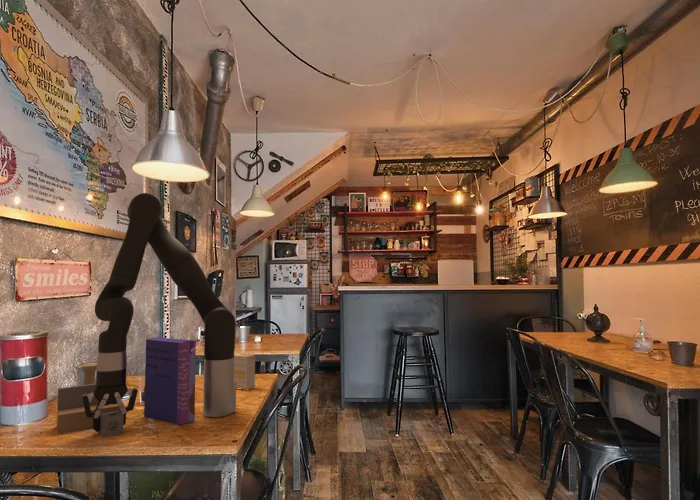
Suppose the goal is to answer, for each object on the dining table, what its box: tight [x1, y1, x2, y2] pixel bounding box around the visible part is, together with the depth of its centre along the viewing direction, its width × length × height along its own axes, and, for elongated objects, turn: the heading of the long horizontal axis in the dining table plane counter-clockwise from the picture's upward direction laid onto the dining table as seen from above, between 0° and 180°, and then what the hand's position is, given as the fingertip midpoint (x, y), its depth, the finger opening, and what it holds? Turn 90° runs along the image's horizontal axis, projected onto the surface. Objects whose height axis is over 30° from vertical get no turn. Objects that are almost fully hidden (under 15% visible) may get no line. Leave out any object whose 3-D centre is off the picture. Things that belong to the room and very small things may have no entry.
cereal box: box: [143, 337, 197, 426], centre depth 132 cm, size 17×5×24 cm, turn 59°
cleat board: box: [56, 384, 121, 435], centre depth 127 cm, size 16×7×11 cm, turn 126°
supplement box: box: [234, 353, 256, 391], centre depth 169 cm, size 8×5×13 cm, turn 58°
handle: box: [80, 362, 97, 385], centre depth 140 cm, size 5×6×15 cm
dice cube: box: [97, 411, 124, 439], centre depth 119 cm, size 5×5×5 cm
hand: (109, 428), depth 120 cm, fingers closed on dice cube, 5 cm apart
